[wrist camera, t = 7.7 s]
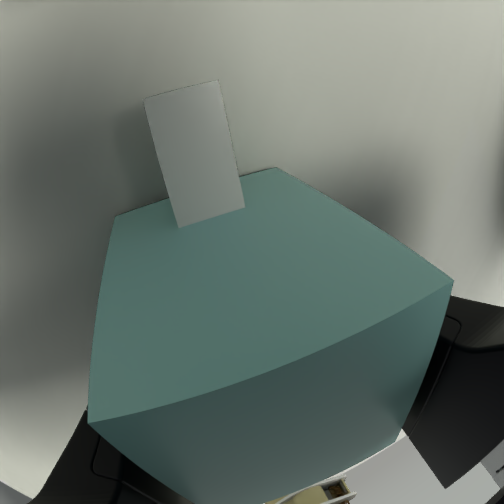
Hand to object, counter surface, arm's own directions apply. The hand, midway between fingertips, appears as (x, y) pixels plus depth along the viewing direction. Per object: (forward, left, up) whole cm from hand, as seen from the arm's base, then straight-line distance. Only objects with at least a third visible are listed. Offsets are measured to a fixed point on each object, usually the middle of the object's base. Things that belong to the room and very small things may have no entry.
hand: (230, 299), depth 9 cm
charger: (+2, +1, -1) cm, 2 cm away
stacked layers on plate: (-21, -11, -2) cm, 24 cm away
